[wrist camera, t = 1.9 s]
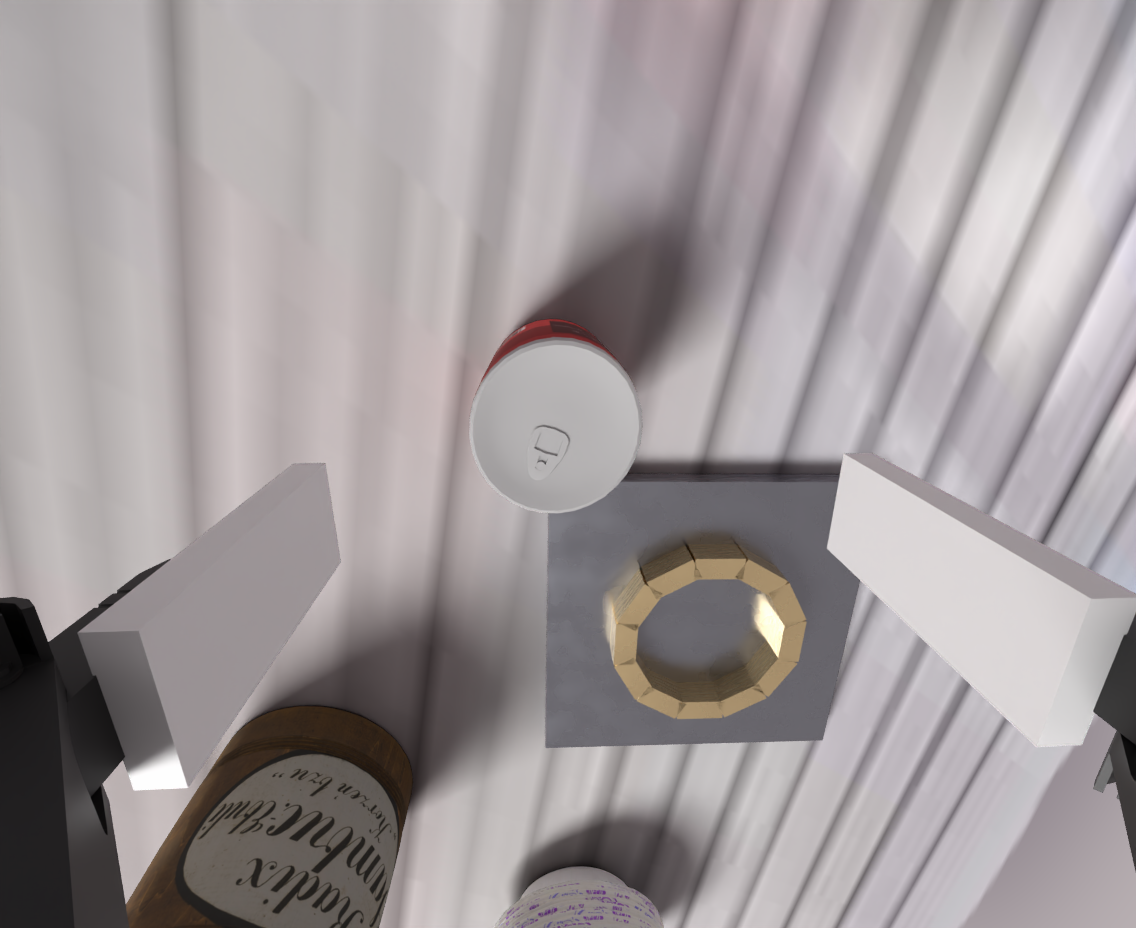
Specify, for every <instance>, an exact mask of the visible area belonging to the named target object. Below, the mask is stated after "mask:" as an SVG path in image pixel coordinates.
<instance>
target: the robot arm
mask: <svg viewBox="0 0 1136 928" xmlns="http://www.w3.org/2000/svg"><path fill="white" fill-rule="evenodd" d="M827 549H828V550H829V551H830V552H831V553H832V554H833V555H834V556H835V557H836V558H837V559H838V560H839V561H841V562H842V563H843V564H844V565H845V566H846V567H847V568H848V569H849V570H850V571H851V572H852V573H853V574H854V575H855V576H856V577H857V578H858V579H860V580H861V581H862V582H863V583H864V584H865V585H866V586H867V587H868V588H869V589H870V590H871V591H872V592H873V593H874V594H875V595H876V596H877V597H879V598H880V599H881V600H882V601H883V602H884V603H885V604H886V605H887V606H888V607H889V608H890V609H891V610H892V611H893V612H894V613H895V614H896V615H897V616H899V617H900V618H901V619H902V620H903V621H904V622H905V623H906V624H907V625H908V626H909V627H910V628H911V629H912V630H913V631H914V632H915V633H916V634H918V635H919V636H920V637H921V638H922V639H923V640H924V641H925V642H926V643H927V644H928V645H929V646H930V647H931V648H932V649H933V650H934V651H935V652H937V653H938V654H939V655H940V656H941V657H942V658H943V659H944V660H945V661H946V662H947V663H948V664H949V665H950V666H951V667H952V668H953V669H954V670H956V671H957V672H958V673H959V674H960V675H961V676H962V677H963V678H964V679H965V680H966V681H967V682H968V683H969V684H970V685H971V686H972V687H973V688H975V689H976V690H977V691H978V692H979V693H980V694H981V695H982V696H983V697H984V698H985V699H986V700H987V701H988V702H989V703H990V704H991V705H992V706H994V707H995V708H996V709H997V710H998V711H999V712H1000V713H1001V714H1002V715H1003V716H1004V717H1005V718H1006V719H1007V720H1008V721H1009V722H1010V723H1011V724H1013V725H1014V726H1015V727H1016V728H1017V729H1018V730H1019V731H1020V732H1021V733H1022V734H1023V735H1024V736H1025V737H1026V738H1027V739H1028V740H1029V741H1030V742H1031V743H1033V744H1034V745H1035V746H1036V747H1049V746H1070V745H1082V743H1083V741H1084V738H1085V736H1086V733H1087V731H1088V729H1089V726H1090V724H1091V721H1092V719H1093V716H1094V714H1095V713H1096V714H1097V715H1098V716H1099V717H1101V718H1102V719H1103V720H1104V721H1106V722H1107V723H1109V724H1110V725H1111V726H1112V727H1113V728H1115V729H1116V730H1117V731H1116V733H1115V736H1114V738H1113V740H1112V743H1111V745H1110V747H1109V750H1108V752H1107V754H1106V757H1105V759H1104V761H1103V764H1102V766H1101V768H1100V770H1099V773H1098V775H1097V777H1096V780H1095V783H1094V788H1093V789H1095V790H1097V791H1100V792H1102V793H1103V791H1104V789H1105V787H1106V784H1110V783H1114V782H1116V785H1117V790H1118V795H1117V799H1119V800H1120V803H1121V808H1122V812H1123V817H1124V821H1125V826H1126V830H1127V835H1128V839H1129V844H1130V848H1131V853H1132V857H1133V862H1134V866H1135V870H1136V594H1135V593H1133V592H1131V591H1129V590H1128V589H1126V588H1124V587H1122V586H1120V585H1118V584H1116V583H1115V582H1113V581H1111V580H1109V579H1107V578H1105V577H1103V576H1101V575H1100V574H1098V573H1096V572H1094V571H1092V570H1090V569H1088V568H1086V567H1085V566H1083V565H1081V564H1079V563H1077V562H1075V561H1073V560H1072V559H1070V558H1068V557H1066V556H1064V555H1062V554H1060V553H1058V552H1057V551H1055V550H1053V549H1051V548H1049V547H1047V546H1045V545H1043V544H1042V543H1040V542H1038V541H1036V540H1034V539H1032V538H1030V537H1029V536H1027V535H1025V534H1023V533H1021V532H1019V531H1017V530H1015V529H1014V528H1012V527H1010V526H1008V525H1006V524H1004V523H1002V522H1000V521H999V520H997V519H995V518H993V517H991V516H989V515H987V514H986V513H984V512H982V511H980V510H978V509H976V508H974V507H972V506H971V505H969V504H967V503H965V502H963V501H961V500H959V499H957V498H956V497H954V496H952V495H950V494H948V493H946V492H944V491H943V490H941V489H939V488H937V487H935V486H933V485H931V484H929V483H928V482H926V481H924V480H922V479H920V478H918V477H916V476H914V475H913V474H911V473H909V472H907V471H905V470H903V469H901V468H900V467H898V466H896V465H894V464H892V463H890V462H888V461H886V460H885V459H883V458H881V457H879V456H877V455H875V454H873V453H846V454H844V455H843V461H842V466H841V472H840V477H839V483H838V489H837V494H836V500H835V506H834V511H833V517H832V522H831V528H830V534H829V539H828V545H827ZM340 563H341V559H340V553H339V547H338V540H337V534H336V528H335V521H334V515H333V509H332V502H331V496H330V490H329V483H328V477H327V471H326V465H325V463H298V464H292V465H291V466H290V467H288V468H287V469H286V470H285V471H283V472H282V473H281V474H279V475H278V476H277V477H276V478H274V479H273V480H272V481H270V482H269V483H268V484H267V485H265V486H264V487H263V488H262V489H260V490H259V491H258V492H256V493H255V494H254V495H253V496H251V497H250V498H249V499H247V500H246V501H245V502H244V503H242V504H241V505H240V506H239V507H237V508H236V509H235V510H233V511H232V512H231V513H230V514H228V515H227V516H226V517H225V518H223V519H222V520H221V521H219V522H218V523H217V524H216V525H214V526H213V527H212V528H210V529H209V530H208V531H207V532H205V533H204V534H203V535H202V536H200V537H199V538H198V539H196V540H195V541H194V542H193V543H191V544H190V545H189V546H187V547H186V548H185V549H184V550H182V551H181V552H180V553H179V554H177V555H176V556H175V557H173V558H172V559H169V560H167V561H164V562H162V563H160V564H158V565H156V566H154V567H152V568H150V569H148V570H146V571H144V572H142V573H140V574H138V575H137V576H136V577H134V578H133V579H132V580H130V581H129V582H128V583H126V584H125V585H124V586H122V587H121V588H120V589H118V590H117V594H112V595H110V596H109V597H108V598H106V599H105V600H104V601H102V602H101V603H100V604H99V607H98V608H93V609H92V610H91V611H89V612H88V613H87V614H85V615H84V616H83V617H81V618H80V619H79V620H77V621H76V622H75V623H73V624H72V625H71V626H69V627H68V628H67V629H65V630H64V631H63V632H62V633H60V634H59V635H58V636H56V637H55V638H54V639H52V640H51V641H50V642H48V641H47V638H46V636H45V633H44V630H43V628H42V625H41V623H40V620H39V617H38V615H37V612H36V610H35V607H34V605H33V604H32V603H31V602H30V600H29V599H23V598H17V597H9V598H0V928H129V923H128V917H127V910H126V904H125V898H124V892H123V885H122V879H121V873H120V866H119V860H118V854H117V848H116V841H115V835H114V829H113V823H112V816H111V810H110V804H109V800H108V797H107V795H106V792H105V789H104V787H103V784H102V783H103V782H104V781H105V780H106V779H107V778H108V776H109V775H110V774H111V773H112V772H113V771H114V769H115V768H116V767H117V766H118V765H119V763H120V762H121V761H122V760H123V761H124V764H125V767H126V770H127V772H128V775H129V778H130V781H131V783H132V786H133V789H134V790H153V789H174V788H188V787H189V786H190V784H191V783H192V781H193V780H194V778H195V777H196V775H197V774H198V772H199V771H200V769H201V768H202V766H203V765H204V763H205V762H206V760H207V759H208V757H209V756H210V755H211V753H212V752H213V750H214V749H215V747H216V746H217V744H218V743H219V741H220V740H221V738H222V737H223V735H224V734H225V732H226V731H227V729H228V728H229V726H230V725H231V724H232V722H233V721H234V719H235V718H236V716H237V715H238V713H239V712H240V710H241V709H242V707H243V706H244V704H245V703H246V701H247V700H248V698H249V697H250V695H251V694H252V693H253V691H254V690H255V688H256V687H257V685H258V684H259V682H260V681H261V679H262V678H263V676H264V675H265V673H266V672H267V670H268V669H269V667H270V666H271V664H272V663H273V661H274V660H275V659H276V657H277V656H278V654H279V653H280V651H281V650H282V648H283V647H284V645H285V644H286V642H287V641H288V639H289V638H290V636H291V635H292V633H293V632H294V630H295V629H296V628H297V626H298V625H299V623H300V622H301V620H302V619H303V617H304V616H305V614H306V613H307V611H308V610H309V608H310V607H311V605H312V604H313V602H314V601H315V599H316V598H317V597H318V595H319V594H320V592H321V591H322V589H323V588H324V586H325V585H326V583H327V582H328V580H329V579H330V577H331V576H332V574H333V573H334V571H335V570H336V568H337V567H338V566H339V564H340Z"/></svg>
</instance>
